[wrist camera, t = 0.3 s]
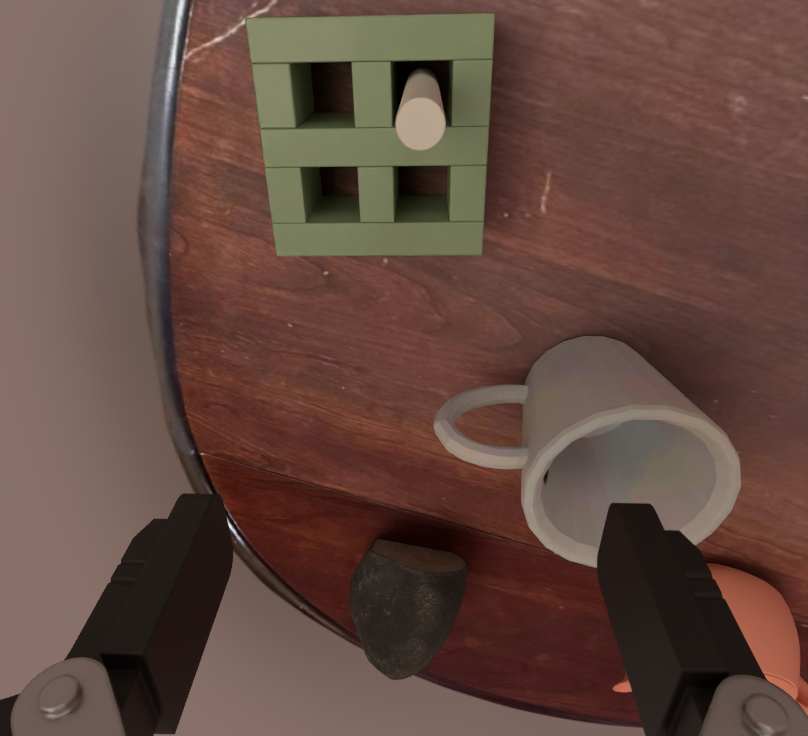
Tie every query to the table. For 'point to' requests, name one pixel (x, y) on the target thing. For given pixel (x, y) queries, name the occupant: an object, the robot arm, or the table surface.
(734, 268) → the table surface
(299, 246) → the pen stand
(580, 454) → the mug
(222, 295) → the table surface
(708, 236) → the table surface
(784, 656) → the teapot
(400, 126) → the stylus
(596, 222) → the table surface
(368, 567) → the stone
